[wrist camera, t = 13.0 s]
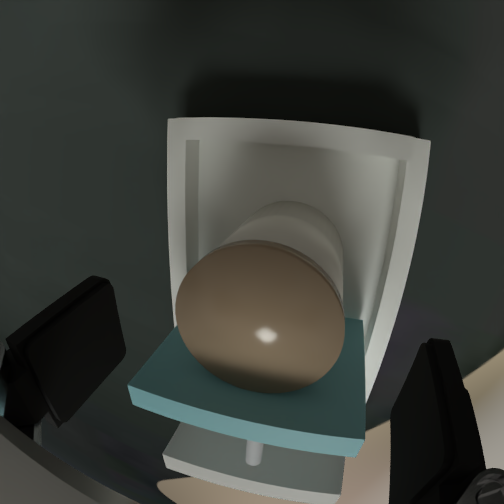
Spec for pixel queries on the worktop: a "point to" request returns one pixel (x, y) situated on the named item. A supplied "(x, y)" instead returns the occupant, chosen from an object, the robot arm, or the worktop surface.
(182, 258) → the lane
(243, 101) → the worktop surface
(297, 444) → the pusher
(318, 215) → the jar
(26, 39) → the worktop surface
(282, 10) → the worktop surface
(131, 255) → the worktop surface
